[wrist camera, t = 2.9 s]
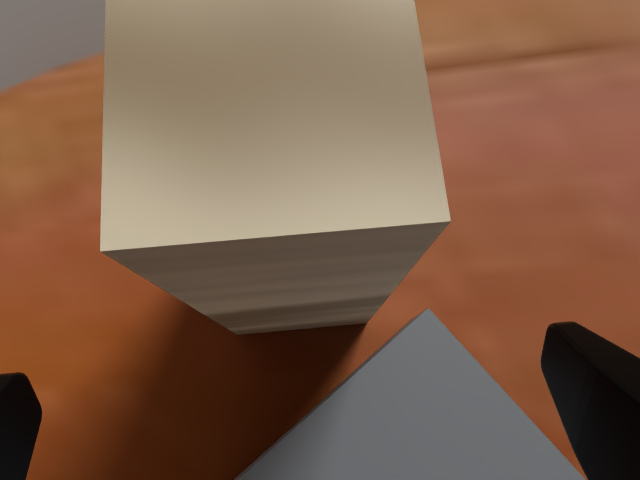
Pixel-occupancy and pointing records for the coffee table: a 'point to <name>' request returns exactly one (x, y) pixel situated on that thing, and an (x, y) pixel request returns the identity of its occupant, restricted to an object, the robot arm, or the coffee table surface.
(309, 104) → the beige rectangular block
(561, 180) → the coffee table surface
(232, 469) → the coffee table surface
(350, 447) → the pedestal
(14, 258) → the coffee table surface
